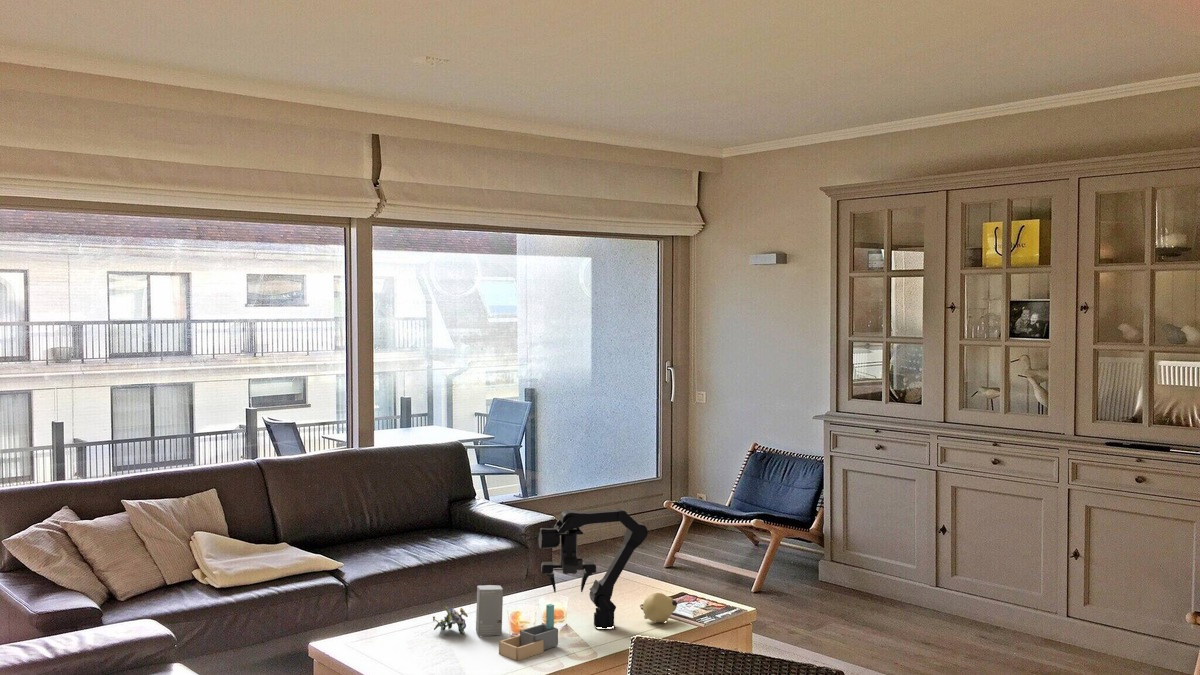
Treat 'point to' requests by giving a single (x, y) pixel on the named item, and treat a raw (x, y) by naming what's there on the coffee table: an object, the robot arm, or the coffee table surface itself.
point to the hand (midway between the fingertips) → (568, 592)
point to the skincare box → (489, 610)
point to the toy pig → (658, 607)
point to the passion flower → (452, 620)
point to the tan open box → (519, 648)
